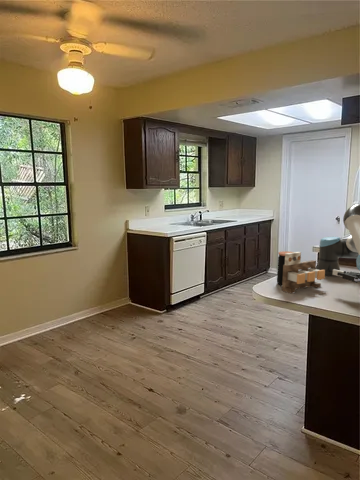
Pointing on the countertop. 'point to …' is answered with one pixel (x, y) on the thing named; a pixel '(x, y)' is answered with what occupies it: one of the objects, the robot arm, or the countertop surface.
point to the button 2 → (318, 273)
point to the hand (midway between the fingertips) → (333, 271)
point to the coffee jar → (281, 266)
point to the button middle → (308, 275)
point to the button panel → (294, 265)
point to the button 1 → (296, 277)
